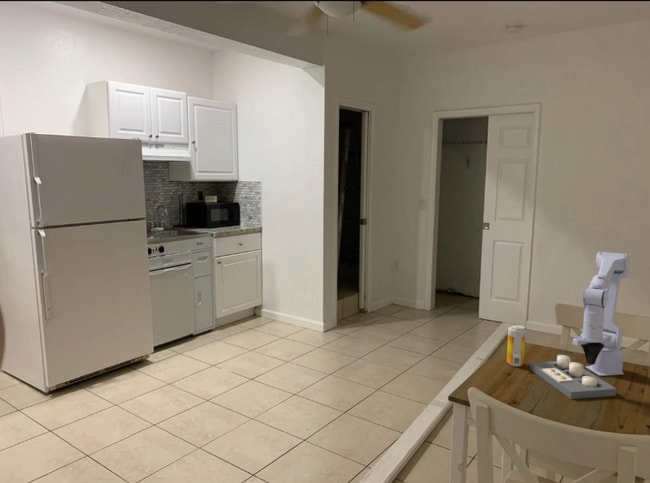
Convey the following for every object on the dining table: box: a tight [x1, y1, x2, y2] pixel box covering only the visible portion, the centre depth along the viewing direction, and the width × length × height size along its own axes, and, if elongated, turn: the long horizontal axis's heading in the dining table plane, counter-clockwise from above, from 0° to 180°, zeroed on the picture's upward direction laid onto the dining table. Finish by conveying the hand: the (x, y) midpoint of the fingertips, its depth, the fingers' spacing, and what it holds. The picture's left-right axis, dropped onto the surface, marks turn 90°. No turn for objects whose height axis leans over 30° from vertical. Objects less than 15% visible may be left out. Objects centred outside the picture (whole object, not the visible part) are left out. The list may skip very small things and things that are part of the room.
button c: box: [582, 376, 597, 387], centre depth 156 cm, size 4×4×4 cm
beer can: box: [506, 324, 526, 368], centre depth 177 cm, size 6×6×15 cm
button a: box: [556, 354, 571, 370], centre depth 170 cm, size 4×4×4 cm
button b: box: [569, 361, 585, 378], centre depth 163 cm, size 4×4×4 cm
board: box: [529, 360, 618, 400], centre depth 163 cm, size 16×24×2 cm, turn 7°
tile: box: [542, 368, 573, 383], centre depth 162 cm, size 5×10×1 cm, turn 7°
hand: (590, 363), depth 155 cm, fingers closed
